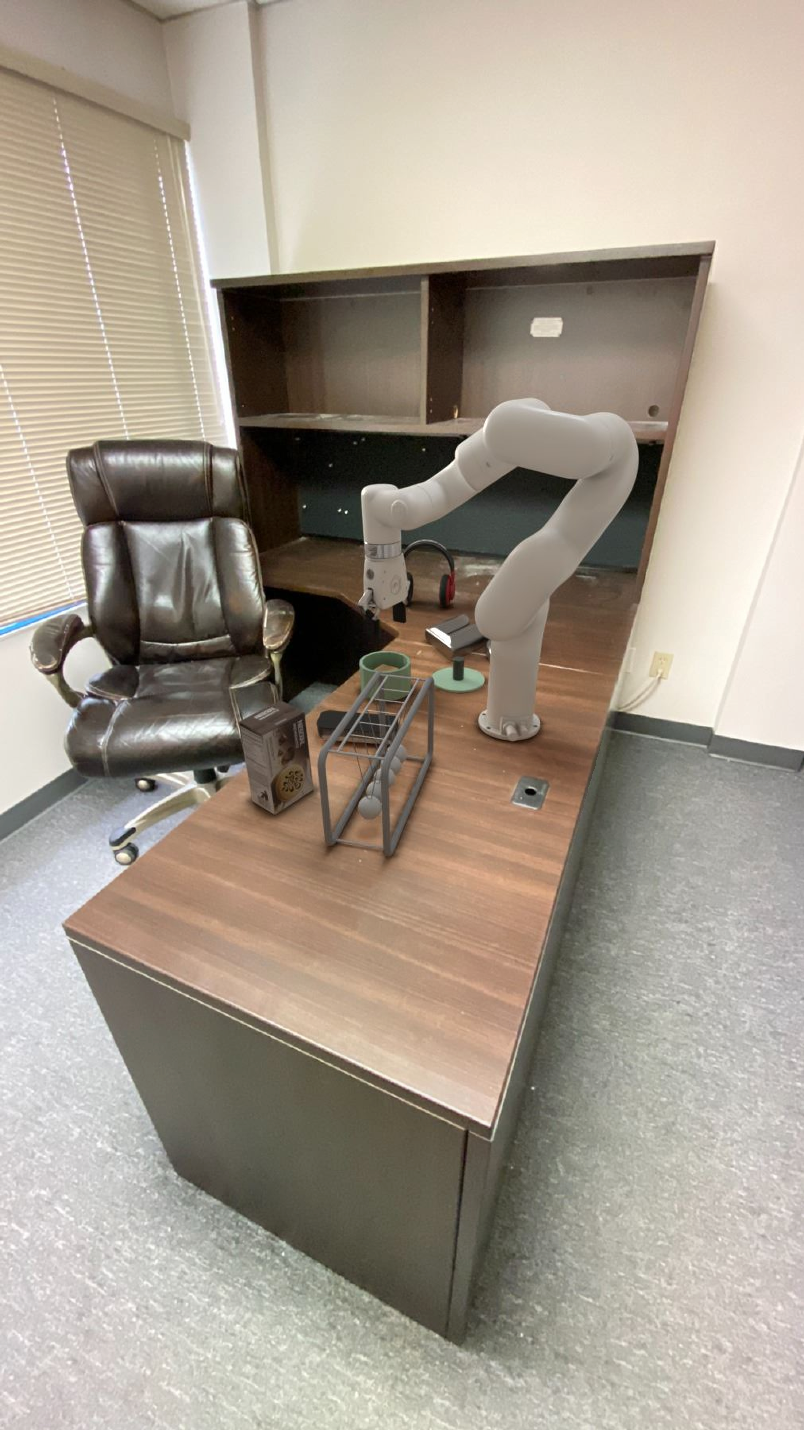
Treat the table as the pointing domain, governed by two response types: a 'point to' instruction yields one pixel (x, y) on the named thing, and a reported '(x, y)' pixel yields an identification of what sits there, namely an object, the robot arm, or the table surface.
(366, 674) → the pot
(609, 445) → the robot arm
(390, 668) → the block
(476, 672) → the cover
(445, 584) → the headphones
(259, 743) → the coffee box
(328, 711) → the black sponge
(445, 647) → the emblem
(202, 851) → the table surface
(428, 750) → the newton's cradle
